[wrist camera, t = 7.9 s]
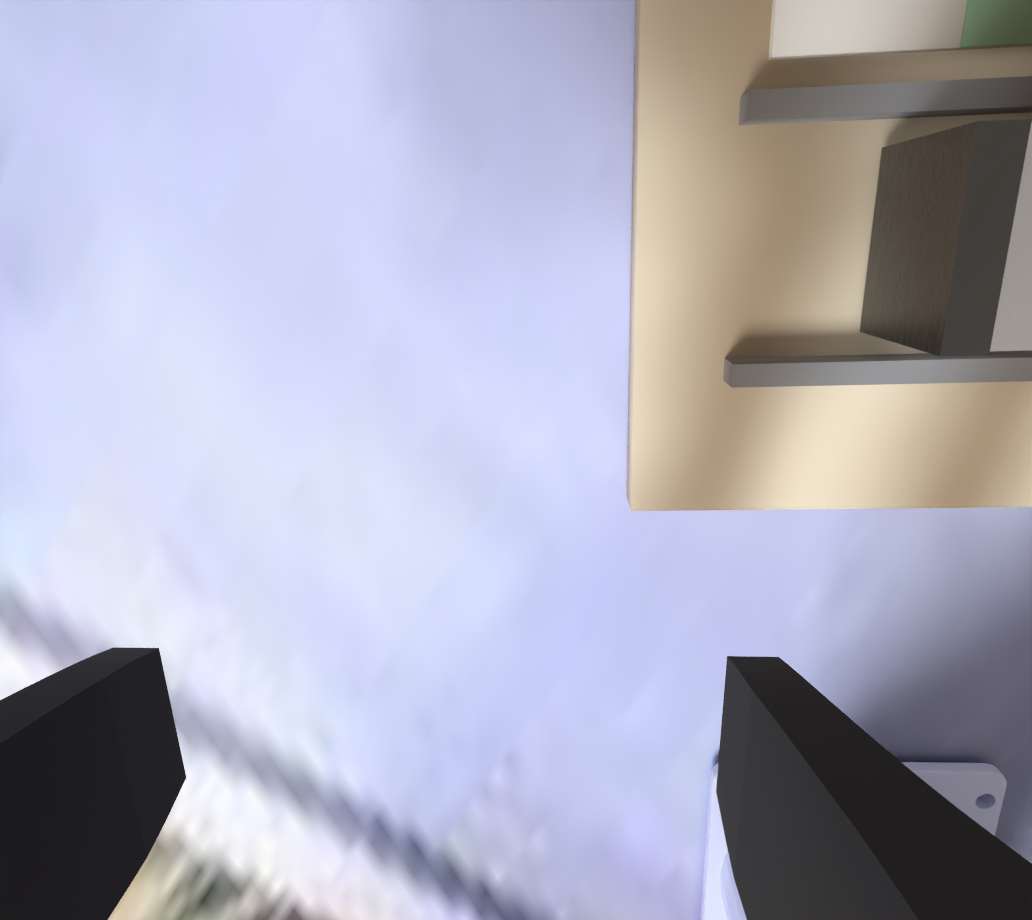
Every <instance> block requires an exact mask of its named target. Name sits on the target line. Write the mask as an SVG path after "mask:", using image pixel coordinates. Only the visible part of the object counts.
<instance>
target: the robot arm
mask: <svg viewBox="0 0 1032 920" xmlns="http://www.w3.org/2000/svg"><path fill="white" fill-rule="evenodd" d="M185 779H186V775H185V770H184V765H183V761H182V756H181V751H180V747H179V742H178V737H177V732H176V728H175V723H174V718H173V713H172V709H171V704H170V699H169V695H168V690H167V685H166V680H165V676H164V671H163V666H162V662H161V657H160V652H159V648H111V649H109V650H106V651H104V652H101V653H99V654H96V655H94V656H91V657H89V658H87V659H85V660H82V661H80V662H78V663H76V664H74V665H71V666H69V667H67V668H65V669H63V670H61V671H59V672H57V673H55V674H52V675H50V676H48V677H46V678H44V679H42V680H40V681H38V682H36V683H34V684H32V685H30V686H28V687H26V688H24V689H22V690H20V691H18V692H16V693H14V694H12V695H10V696H8V697H6V698H4V699H2V700H0V920H108V918H109V917H110V915H111V913H112V912H113V910H114V909H115V907H116V906H117V904H118V902H119V901H120V899H121V898H122V896H123V895H124V893H125V892H126V890H127V888H128V887H129V885H130V884H131V882H132V881H133V879H134V877H135V876H136V874H137V873H138V871H139V869H140V868H141V866H142V865H143V863H144V861H145V860H146V858H147V856H148V854H149V852H150V850H151V849H152V847H153V845H154V843H155V841H156V839H157V837H158V835H159V833H160V831H161V829H162V827H163V825H164V823H165V821H166V819H167V817H168V815H169V813H170V811H171V809H172V806H173V804H174V802H175V800H176V798H177V796H178V794H179V791H180V789H181V787H182V785H183V783H184V781H185ZM1006 787H1007V780H1006V779H1005V777H1004V776H1003V774H1002V773H1001V772H1000V771H999V770H998V768H997V767H995V766H993V765H992V764H987V763H938V762H900V761H899V760H898V759H897V758H896V757H894V756H893V755H892V754H891V753H890V752H888V751H887V750H886V749H885V748H884V747H882V746H881V745H880V744H879V743H878V742H877V741H875V740H874V739H873V738H872V737H871V736H870V735H868V734H867V733H866V732H865V731H864V730H862V729H861V728H860V727H859V726H858V725H857V724H856V723H854V722H853V721H852V720H851V719H850V718H849V717H848V716H846V715H845V714H844V713H843V712H842V711H841V710H839V709H838V708H837V707H836V706H835V705H834V704H833V703H831V702H830V701H829V700H828V699H827V698H826V697H825V696H823V695H822V694H821V693H820V692H819V691H818V690H817V689H815V688H814V687H813V686H812V685H811V684H810V683H809V682H808V681H806V680H805V679H804V678H803V677H802V676H801V675H799V674H798V673H797V672H796V671H795V670H794V669H792V668H791V667H790V666H789V665H788V664H786V663H785V662H784V661H783V660H782V659H780V658H779V657H734V656H727V666H726V678H725V691H724V703H723V715H722V727H721V739H720V751H719V763H717V764H715V766H714V767H713V768H712V770H711V773H710V785H709V800H708V815H707V830H706V844H705V859H704V874H703V889H702V904H701V918H700V920H1032V864H1031V863H1030V862H1028V861H1027V860H1026V859H1024V858H1023V857H1022V856H1020V855H1019V854H1018V853H1016V852H1015V851H1014V850H1012V849H1011V848H1010V847H1008V846H1007V845H1006V844H1004V843H1003V842H1002V841H1000V840H999V839H998V838H997V837H995V833H996V829H997V825H998V821H999V816H1000V812H1001V808H1002V804H1003V799H1004V795H1005V791H1006ZM983 794H985V795H983ZM981 795H983V796H982V797H979V796H981Z"/></svg>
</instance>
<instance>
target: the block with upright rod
mask: <svg viewBox="0 0 1032 920" xmlns="http://www.w3.org/2000/svg"><path fill="white" fill-rule="evenodd" d="M860 332H862V333H865V334H869V335H872V336H875V337H878V338H882V339H885V340H888V341H891V342H895V343H898V344H901V345H904V346H907V347H911V348H914V349H917V350H920V351H924V352H927V353H930V354H933V355H937V356H982V355H989V353H990V351H1019V350H1032V119H1015V120H993V121H976V122H973V123H969V124H965V125H962V126H958V127H954V128H951V129H947V130H944V131H940V132H936V133H933V134H929V135H926V136H922V137H918V138H915V139H911V140H908V141H904V142H900V143H897V144H893V145H890V146H886V147H882V151H881V159H880V167H879V175H878V184H877V192H876V200H875V208H874V217H873V225H872V233H871V241H870V250H869V258H868V266H867V274H866V283H865V291H864V299H863V307H862V315H861V324H860Z"/></svg>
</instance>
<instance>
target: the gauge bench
mask: <svg viewBox="0 0 1032 920" xmlns="http://www.w3.org/2000/svg"><path fill="white" fill-rule="evenodd" d="M1015 119H1032V0H636V8H635V64H634V121H633V177H632V233H631V289H630V346H629V402H628V458H627V498H628V502H629V506H630V509H631V511H666V510H767V509H868V508H970V507H1032V350H1019V351H990V353H989V355H982V356H937V355H933V354H930V353H927V352H924V351H920V350H917V349H914V348H911V347H907V346H904V345H901V344H898V343H895V342H891V341H888V340H885V339H882V338H878V337H875V336H872V335H869V334H865V333H862V332H860V324H861V315H862V307H863V299H864V291H865V283H866V274H867V266H868V258H869V250H870V241H871V233H872V225H873V217H874V208H875V200H876V192H877V184H878V175H879V167H880V159H881V151H882V147H886V146H890V145H893V144H897V143H900V142H904V141H908V140H911V139H915V138H918V137H922V136H926V135H929V134H933V133H936V132H940V131H944V130H947V129H951V128H954V127H958V126H962V125H965V124H969V123H973V122H976V121H993V120H1015Z"/></svg>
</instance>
